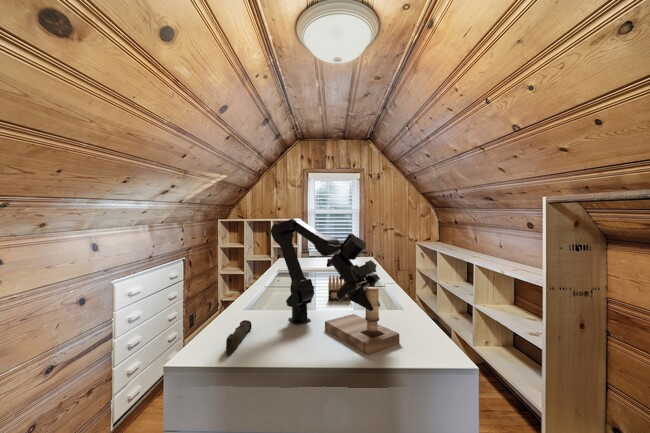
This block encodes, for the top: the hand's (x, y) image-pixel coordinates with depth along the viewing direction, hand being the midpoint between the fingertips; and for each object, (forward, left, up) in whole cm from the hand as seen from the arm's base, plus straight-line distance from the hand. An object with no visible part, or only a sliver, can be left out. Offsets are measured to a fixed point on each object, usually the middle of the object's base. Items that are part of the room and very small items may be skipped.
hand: (375, 308), depth 85 cm
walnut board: (-7, 0, -11) cm, 13 cm away
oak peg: (-1, 0, -7) cm, 7 cm away
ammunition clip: (-44, +19, -11) cm, 49 cm away
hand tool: (-26, -34, -11) cm, 44 cm away
